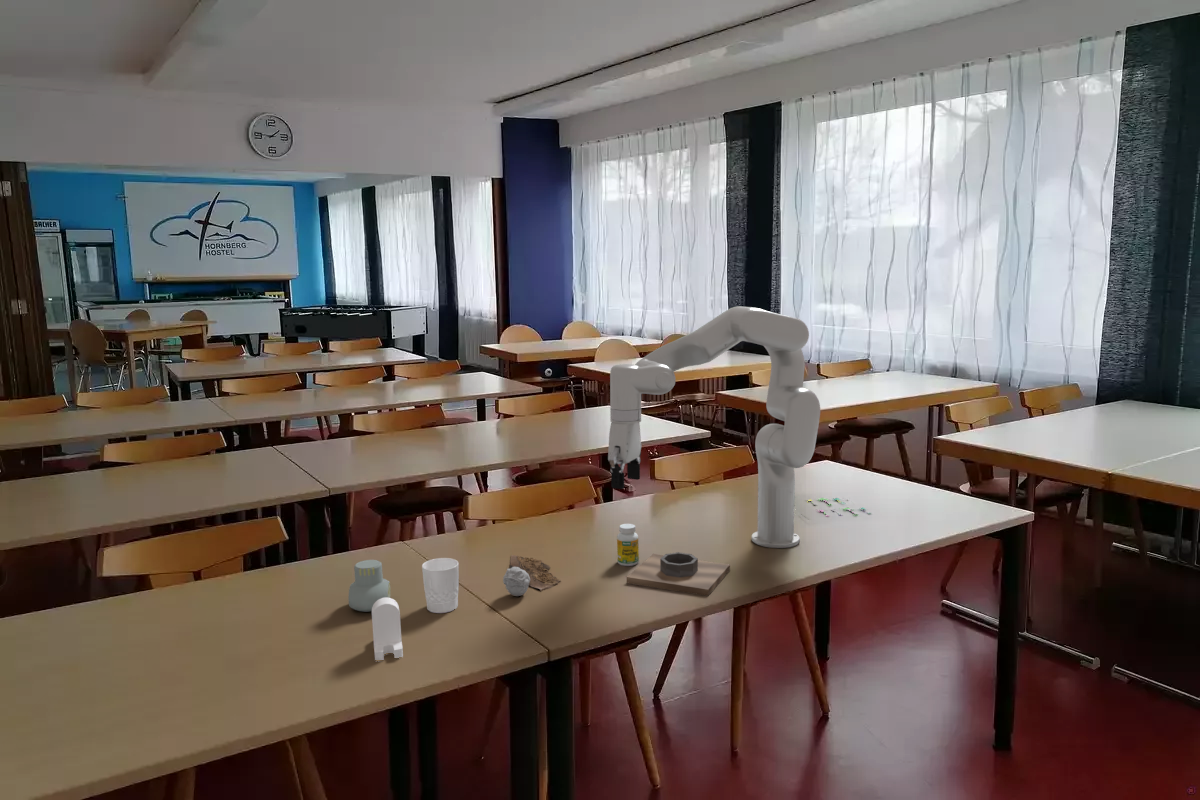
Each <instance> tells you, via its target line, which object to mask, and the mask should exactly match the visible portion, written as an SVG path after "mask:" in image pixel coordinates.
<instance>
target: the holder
mask: <svg viewBox="0 0 1200 800" xmlns="http://www.w3.org/2000/svg"><path fill="white" fill-rule="evenodd" d="M730 571H731V565H730V564H729V563H723V562H722V563H721V562H714V561H706V560H700V559H698V558H697V557H696V556H695V555H694V554H692V553H685V552H679V551H677V552H672V553H671V552H670V553H665V554H657V553H652V554H651V555H650V556H649V557H648V558H647V559H645V560H644V561H643V562H642V563H641V564H639V565H638V566H637V567H636V568H635V569H633V571H631V572H630V574H628V575H627V576H626V584H631V585H637V586H645V587H650V588H656V589H662V590H668V591H675V592H681V593H688V594H694V595H701V596H710V594H711V593H712V592H713V591H714V590H715V588H717V586H718V585H719V584H720V583H721V581H723V579H724V578H725V577H726V575H727V574H728V573H730Z"/></svg>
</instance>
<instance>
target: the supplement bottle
mask: <svg viewBox="0 0 1200 800" xmlns="http://www.w3.org/2000/svg"><path fill="white" fill-rule="evenodd" d="M618 530H619V533H618V534H617V536H616V543H617V544H616V547H617V548H616V549H617V551H616V553H617V555H616V557H617V563H618V565H620V566H624V567H633V566H636V565H638V564H639V563H640V562H639V561H640V557H639V555H640V553H639V552H640V551H639V534H638V533H637V532H636V525H635V524H633V523H622V524H620V525H619V529H618Z"/></svg>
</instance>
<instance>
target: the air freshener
mask: <svg viewBox="0 0 1200 800" xmlns="http://www.w3.org/2000/svg"><path fill="white" fill-rule="evenodd" d="M382 564H383V562H381V561H380V560H377V559H366V560H362V561H361V560H360V561H359V562H356V564H354V566H353V569H354V582H352V583H350V585H349V589H348V606H349V608H351V609H352V610H355V611H358V612H366V613H369V612H372V607H373V605H374V603H375V602H376V601H377V600H379V599H381V598H384V597H388V598H391V582H390V581H389V580H387V579H386V578H383V577H384V576H383V565H382Z"/></svg>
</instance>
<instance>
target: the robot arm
mask: <svg viewBox="0 0 1200 800" xmlns="http://www.w3.org/2000/svg"><path fill="white" fill-rule="evenodd" d="M809 337H810V331H809V328H808V326H807V325H806V323H805V322H804V321H803V320H802V319H799V318H797V317H793V316H788V315H784V314H780V313H776V312H772V311H768V310H765V309H762V308H758V307H752V306H739V305H738V306H734V307H731V308H728V309H727V310H725V311H724V312H722V313H720V314H718V315H717V316H716V317H714V318H713V319H711V320H709V321H708V322H706V323H705V324H703V325H702V326H701V327H698V329H696V330H694V331H693V332H691V333H689V334H687V335H684V336H682V337H679V338H677V339H675V340H673V341H670V342H668V343H666V344H663V345H662V346H660V347H658V348H656V349H654V350H653V351H651V352H650V353H648V354H647V355H645V356H644V357H641V358H640V359H639V360H638V361H637V362H636V363H635V364H629V363H621V364H620V363H619V364H615V365H613V366H612V367H611V368H610V373H609V374H610V375H609V378H610V379H609V380H610V382H609V386H610V389H609V391H610V392H609V394H610V395H609V396H610V397H609V399H610V403H609V405H610V407H609V409H610V410H609V411H610V414H609V416H610V418H609V419H610V422H611V423H610V425H609V426H610V427H609V434H608V435H609V436H608V450H607V451H608V454H607V460H608V462H609V468H610V475H611V477H610V479H611V480H610V481H611V484H610V487H611V488H612V489H617V490H618V489H619V490H624V489H625V472H624V468H625V465H626V464H627V466H626V470H627V479H629V480H630V479H631V480H640V478H641V464H640V463H641V461H642V460H641V455H642V451H641V450H642V442H641V438H642V437H641V425H640V423H641V422H642V394H647V395H660V396H661V395H664V394H667V393H669V392H670V391H672V390H673V388H674V386H675V385H676V379H677V378H676V375H675V373H674V372H676V371H678V370H681V369H685V368H687V367H693V366H700V365H703V364H708V363H710V362H712V361H714V360H715V359H717V358H718V357H719V356H720V355H722V354H723V353H724V354H725V353H726V352H727V351H729V350H730V349H732V348H733V347H735V346H736V345H738V344H739V343H740V342H746V343H752V344H757V345H760V346H763V347H764V348H765V350H766V351H767V353H768V355H769V357H770V363H771V364H770V365H771V366H770V377H769V383H768V389H767V395H766V403H765V404H766V406H765V407H766V410H767V413H768V414H769V415H770V416H771V417H773V418H775V419H777V420H780V421H783V422H784V425H783V424H779V423H769V424H766V425H764V426H763V427H761V428H760V430H758V432H757V434H756V437H755V442H754V443H755V446H754V447H755V453H756V454H755V455H756V459H757V469H758V470H757V472H758V473H757V474H758V476H757V477H758V478H757V479H758V481H757V483H758V484H757V531H755V532H753V533H752V534H751V541H752V542H753V543H754V544H756V545H758V546H761V547H764V548H770V549H771V548H773V549H787V548H793V547H795V546H797V545H798V544H800V542H801V539H800V536H799V535H798V534H797V533H795V513H794V509H795V503H796V502H795V500H796V499H795V498H796V497H795V493H796V492H795V490H796V473H795V469H800V468H802V467H803V468H804V467H805V466H806V465H807V464H809V462H811V460H812V457H813V456H814V452H815V448H816V443H817V436H818V430H819V424H820V418H821V404H820V401H819V398H818V396H817V395H816V394H815V393H814V392H813V391H812V390H810V389H808V388H805V387H804V378H805V367H806V365H805V364H806V363H805V362H806V361H805V357H804V352H803V350H802V349H803V348H804V347H805V346H806V344H808V341H809Z"/></svg>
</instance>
